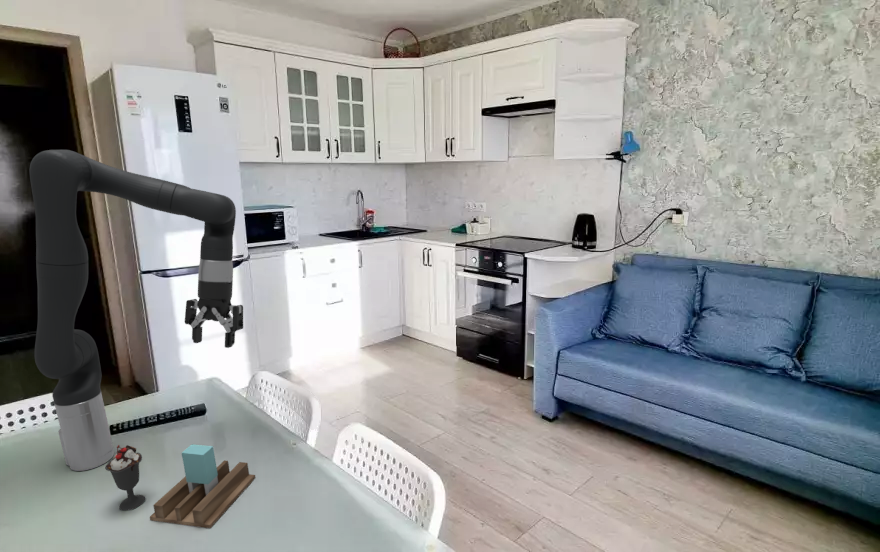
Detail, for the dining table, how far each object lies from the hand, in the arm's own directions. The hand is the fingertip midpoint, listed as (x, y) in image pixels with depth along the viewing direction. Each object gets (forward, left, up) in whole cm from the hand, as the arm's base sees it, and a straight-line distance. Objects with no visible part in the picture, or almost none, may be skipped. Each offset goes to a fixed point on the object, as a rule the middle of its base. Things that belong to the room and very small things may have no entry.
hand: (213, 344), depth 119 cm
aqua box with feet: (+7, -18, -27) cm, 33 cm away
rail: (+7, -18, -28) cm, 34 cm away
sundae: (-8, -22, -28) cm, 37 cm away
